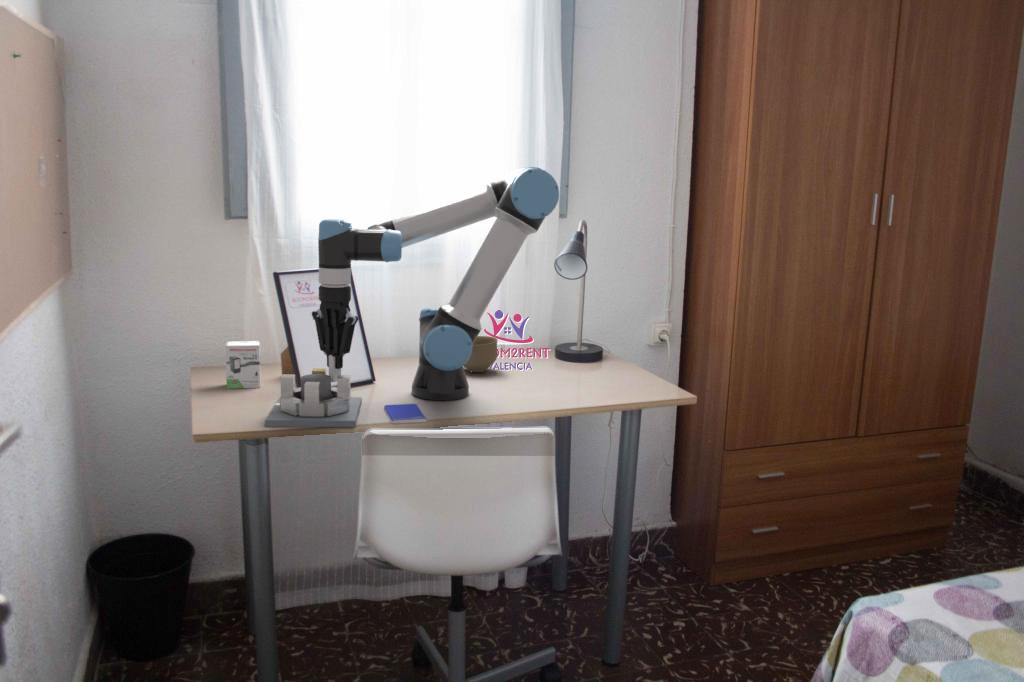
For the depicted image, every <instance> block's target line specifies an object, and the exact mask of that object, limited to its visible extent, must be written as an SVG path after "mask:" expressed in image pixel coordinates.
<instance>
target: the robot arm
mask: <svg viewBox="0 0 1024 682" xmlns="http://www.w3.org/2000/svg"><path fill="white" fill-rule="evenodd" d="M559 198H560V189H559V185H558V182H557V181H556V179H555V178H554V176H552V174H551V173H550V172H548V171H546V170H544V169H542V168H540V167H536V166H535V167H533V166H531V167H529V166H528V167H521V168H518V169H514V170H513V171H511V172H509V173H507V174H506V175H504V176H502V177H500V178H497V179H494V180H492V181H489V182H487V183H486V184H485V187H483V188H481V189H478V190H475V191H472V192H469V193H467V194H463V195H460V196H457V197H455V198H453V199H452V198H451V199H448V200H446V201H443V202H439V203H437V204H433V205H431V206H429V207H426V208H423V209H422V208H421V210H417V211H414V212H411V213H408V214H405V215H402V216H399V217H397V218H394V219H392V220H389V221H385V222H383V223H379V224H374V225H371V226H369V227H367V228H366V229H363V228H362V229H360V228H353V227H352V223H351V221H350V220H347V219H332V218H331V219H322V220H321V221H320V222H319V225H318V238H317V239H318V243H317V244H318V284H320V285H319V286H318V300H319V301H320V304H319V308H318V309H317V310H313V311H312V312H311V315H312V318H313V320H314V322H315V323H314V324H315V329H316V334H317V335H316V336H317V340H318V345H319V349H320V351H321V352H324V353H325V354H326V366H327V367H328V375H329V376H331V383H337V378H338V375H342V369H343V367H344V361H343V360H344V356H345V355H346V354H349V353H350V352H351V347H352V343H353V338H354V334H355V333H354V332H355V328H356V324H357V323H358V321H359V316H358V315H354V314H352V312H351V307H350V302H351V299H352V287H351V286H350V284H351V283H352V279H351V278H352V276H351V275H352V274H351V273H352V264H351V263H352V261H364V262H365V261H367V262H385V263H390V262H400V261H401V259H402V253H403V252H402V251H403V249H404V248H406V247H410V246H412V245H415V244H418V243H421V242H423V241H427V240H429V239H431V238H435V237H439V236H440V235H444V234H447V233H451V232H453V231H455V230H460V229H461V228H464V227H467V226H471V225H473V224H476V223H478V222H482V221H485V220H488V219H491V218H494V217H495V218H496V219H495V221H494V223H493V225H492V226H491V228H490V229H489V232H488V234H487V235H486V236H485V238H484V241H483V242H482V244H481V246H480V248H479V249H478V251H477V253H476V255H475V256H474V258H473V260H472V262H471V263H470V266H469V267H468V269H467V270H466V272H465V274H464V276H463V278H462V279H461V281H460V283H459V285H458V287H457V289H456V290H455V292H454V294H453V295H452V298H451V299H450V301H449V302H447V303H445V304H442V305H440V306H439V307H438V308H437V307H432V308H431V307H429V308H428V307H426V308H422V309H421V310H420V313H419V319H418V322H419V343H418V345H419V347H418V350H419V351H418V366H417V369H416V372H415V374H414V378H413V381H412V383H411V394H412V395H413V396H415V397H417V398H419V399H425V400H428V401H429V400H430V401H452V400H453V401H455V400H461V399H463V398H467V396H468V395H469V390H470V389H469V388H470V387H469V386H470V385H469V383H468V378H467V376H466V372H465V369H464V368H465V367H464V366H463V365H464V364H465V363H466V362H467V361H468V360H469V358H470V356H471V353H472V349H473V343H474V342H475V340H476V338H477V336H479V334H480V333H481V331H482V329H483V328H482V324H481V318H482V316H483V315H484V313H485V311H486V310H487V308H488V306H489V305H490V302H491V301H492V300H493V297H494V295H495V294H496V292H497V291H498V288H499V286H500V285H501V283H502V282H503V280H504V278H505V276H506V275H507V272H508V271H509V269H510V267H511V266H512V264H513V262H514V260H515V259H516V257H517V255H518V254H519V251H520V250H521V248H522V246H523V245H524V243H525V241H526V239H527V238H528V236H529V235H532V234H536V233H537V232H538V230H539V229H540V227H541V225H542V223H543V222H544V220H545V218H547V216H549V215H550V214H552V212H554V210H555V209H556V207H557V205H558V203H559Z"/></svg>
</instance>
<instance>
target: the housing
mask: <svg viewBox="0 0 1024 682" xmlns="http://www.w3.org/2000/svg"><path fill="white" fill-rule="evenodd" d="M306 382H320V401H323V400H328V399H331V386H332V382H331V376H329V374H327V375H324V374H312V373H310V374H305V375H302V376H301V377H300V387H301V400H304V385H305V383H306ZM280 397H281V395H280V396H279V398H278V399H277V401H276V403H275V404H274V405H273V406H272V408H271V411H270V412H269V413H268V414H267V417H266V418H265V424H264V425H265V427H269V428H270V427H275V428H276V427H277V428H279V427H280V428H281V427H289V428H290V427H292V428H293V427H296V428H298V427H299V428H302V427H303V428H306V427H307V428H355V427H356V426H357V422H358V419H359V414H360V409H361V406H362V403H363V401H362V399H363V398H362V397H361V396H351V405H350V408H349V410H347V412H343V413H339V414H335V415H331V416H326V415H325V416H324V417H310V416H299V415H298V416H295V415H292V414H289V413H286V412H283V411H281V410H280Z"/></svg>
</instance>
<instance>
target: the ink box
mask: <svg viewBox="0 0 1024 682" xmlns="http://www.w3.org/2000/svg"><path fill="white" fill-rule="evenodd" d="M225 351H226V352H225V359H226V360H225V364H226V366H225V367H226V389H228V390H229V389H255V388H257V389H260V388H261V342H260V341H259V340H239V341H238V340H237V341H236V340H233V341H227V342H226V343H225Z"/></svg>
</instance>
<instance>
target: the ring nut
mask: <svg viewBox="0 0 1024 682" xmlns="http://www.w3.org/2000/svg"><path fill="white" fill-rule="evenodd" d="M311 374H324V375H328V368H320V367H319V368H318V367H317V368H315V367H314V368H313V369H312V371H311ZM280 396H281V397H280ZM280 396H279V398H280V410H281V411H283V412H286V413H289V414H292V415H295V416H298V415H299V416H310V417H324V416H325V415H326V416H331V415H335V414H339V413H343V412H347V410H349V408H350V405H351V397H352V393H351V375H349V374H341V375H338V378H337V381H336V386H332V385H331V399H328V400H323V401H320V382H306V383H305V385H304V400H301V386H300V387H296V374H294V373H293V374H291V373H290V374H289V373H287V374H286V373H285V374H284V373H283V374H282V375H281V377H280Z"/></svg>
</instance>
